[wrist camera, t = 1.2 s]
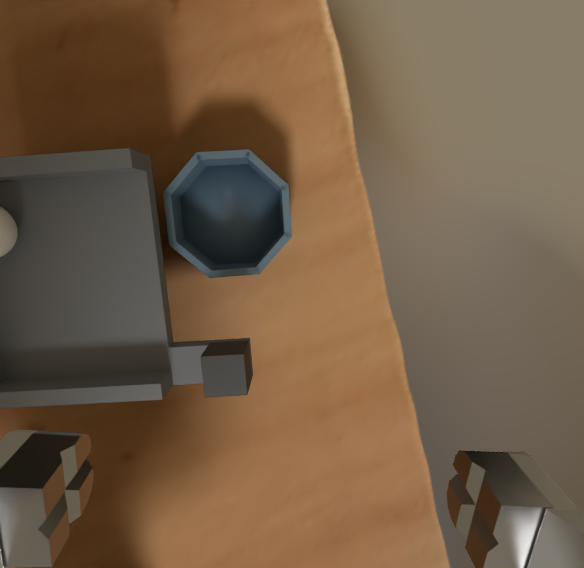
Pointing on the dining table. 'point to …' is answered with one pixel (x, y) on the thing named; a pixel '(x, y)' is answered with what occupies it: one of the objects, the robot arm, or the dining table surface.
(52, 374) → the lever board
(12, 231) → the ball
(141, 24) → the dining table surface
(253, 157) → the cup
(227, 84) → the dining table surface
